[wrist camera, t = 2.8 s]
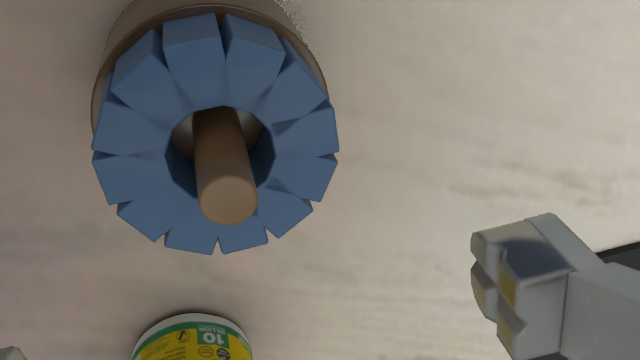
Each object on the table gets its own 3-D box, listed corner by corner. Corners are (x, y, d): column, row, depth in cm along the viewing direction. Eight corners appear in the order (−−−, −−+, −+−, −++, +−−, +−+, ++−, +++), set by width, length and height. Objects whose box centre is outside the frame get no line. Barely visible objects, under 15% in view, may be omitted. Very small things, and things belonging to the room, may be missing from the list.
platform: (138, 181, 22) (125, 345, 15) (72, -4, 19) (14, 96, 12) (317, 140, 23) (384, 277, 16) (287, -45, 20) (357, 25, 12)
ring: (139, 233, 19) (136, 277, 17) (67, 41, 16) (53, 68, 14) (333, 187, 20) (350, 224, 18) (303, -7, 16) (321, 14, 14)
